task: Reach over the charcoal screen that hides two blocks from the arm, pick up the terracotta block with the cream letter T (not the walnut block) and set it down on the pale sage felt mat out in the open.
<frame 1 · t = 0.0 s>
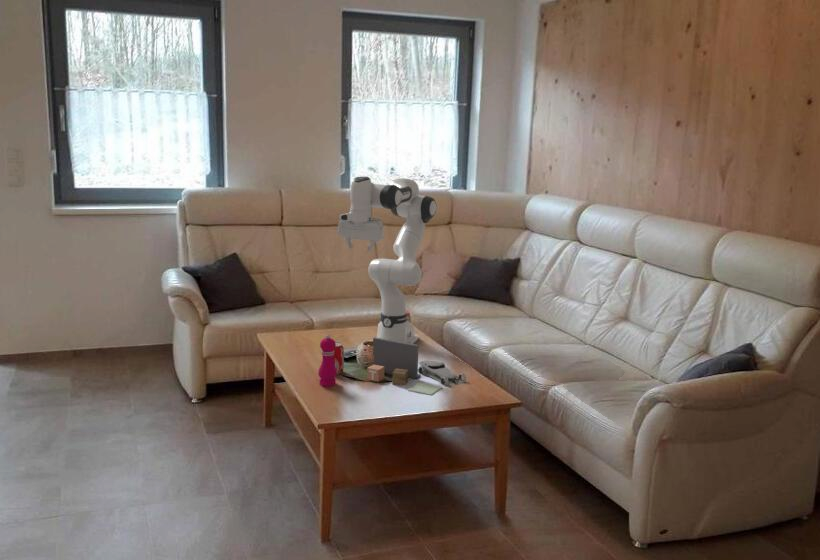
hand: (360, 249, 320), 48 cm above the table, fingers open, 8 cm apart
letter block: (375, 379, 308), on the table
pepper mill: (327, 384, 301), on the table
walnut block: (400, 383, 304), on the table
screen: (394, 374, 313), on the table
soda can: (334, 372, 314), on the table
car model: (439, 377, 314), on the table
felt mat: (425, 389, 298), on the table
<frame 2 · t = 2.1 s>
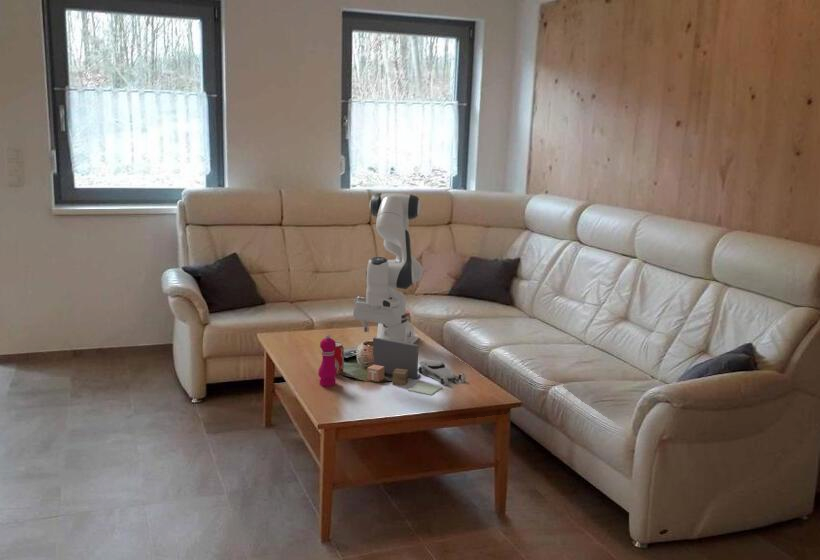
hand: (376, 333, 304), 19 cm above the table, fingers open, 8 cm apart
nothing on the table moved.
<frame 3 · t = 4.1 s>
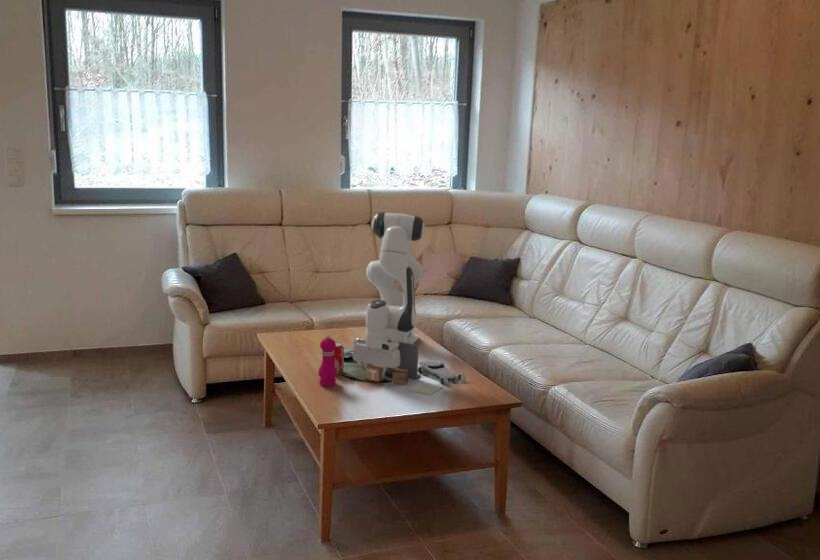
hand: (375, 374, 307), 2 cm above the table, fingers closed on letter block, 5 cm apart
letter block: (375, 378, 308), on the table, touching gripper
everything else where it was.
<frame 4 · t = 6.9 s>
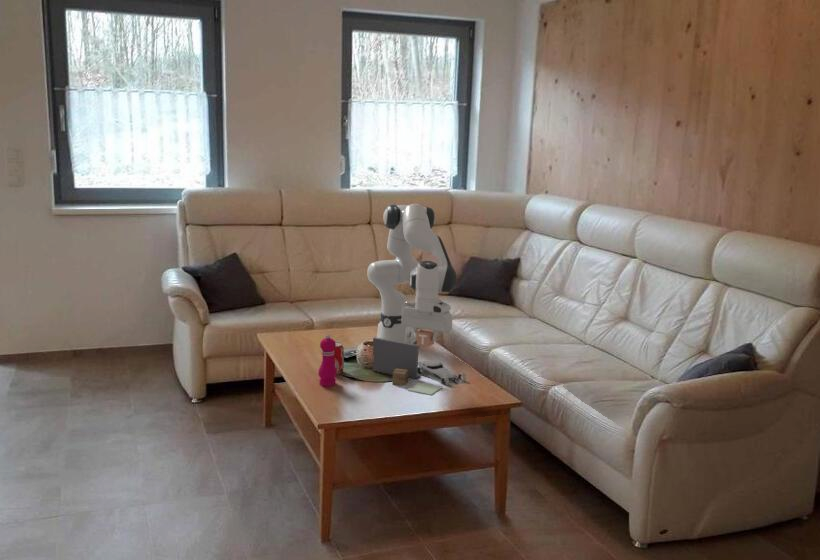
hand: (425, 339, 294), 20 cm above the table, fingers closed on letter block, 5 cm apart
letter block: (425, 344, 294), point 18 cm above the table, touching gripper
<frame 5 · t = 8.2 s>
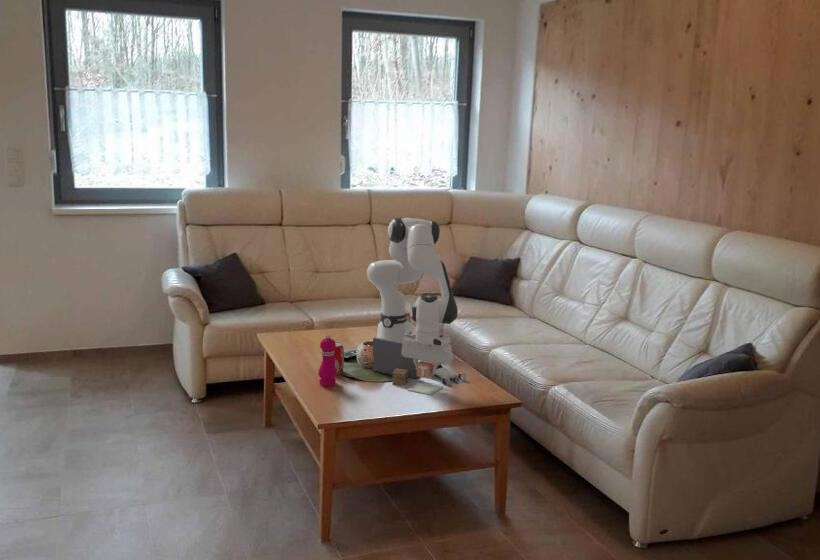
hand: (425, 371, 296), 7 cm above the table, fingers closed on letter block, 5 cm apart
letter block: (425, 375, 297), point 6 cm above the table, touching gripper
everything else where it was.
when the fingers open (3 cm above the table, at t = 9.4 s): letter block stays where it is, resting on felt mat.
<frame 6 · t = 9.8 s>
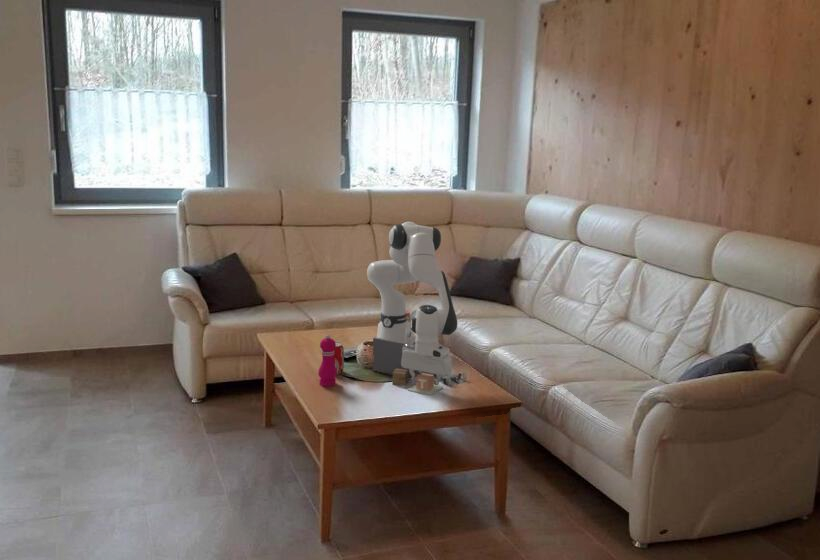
hand: (425, 382, 297), 3 cm above the table, fingers open, 8 cm apart
letter block: (424, 388, 298), resting on felt mat
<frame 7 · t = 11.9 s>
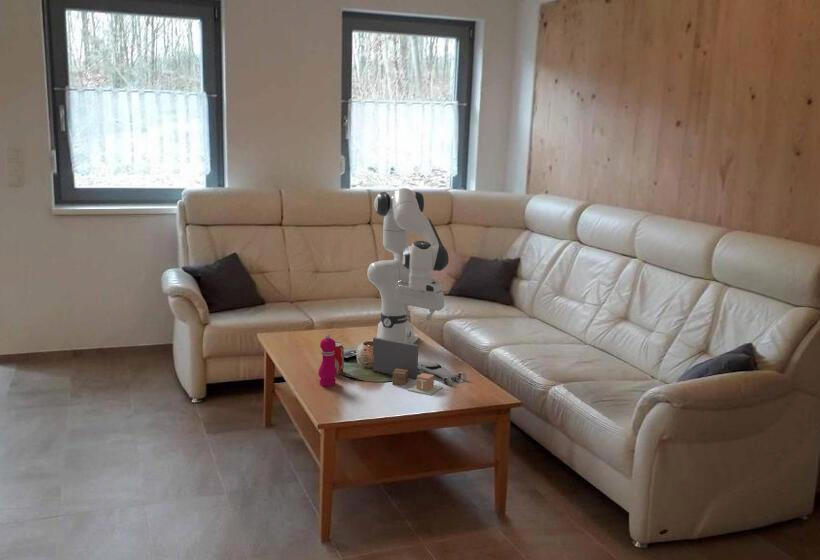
hand: (418, 317, 303), 26 cm above the table, fingers open, 8 cm apart
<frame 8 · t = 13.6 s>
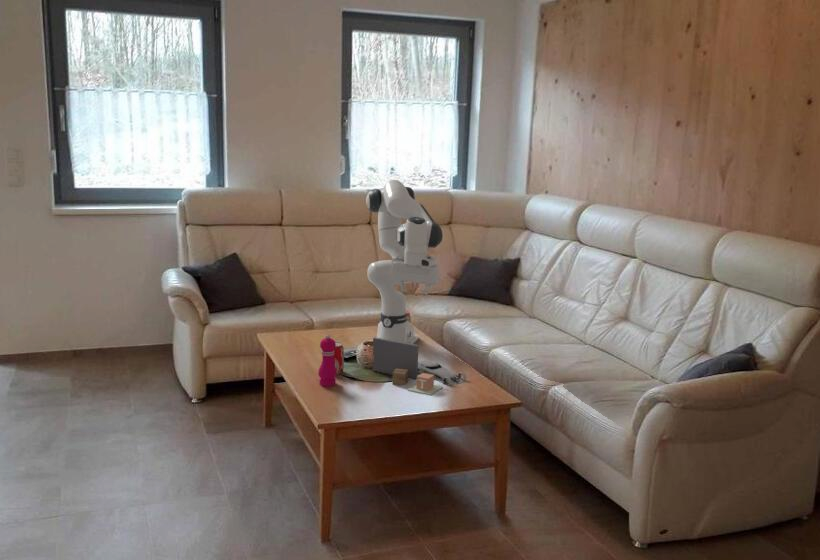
hand: (414, 293, 307), 34 cm above the table, fingers open, 8 cm apart
at the end: letter block inside the target area on the felt mat (0.1 cm from its centre), point 0.4 cm above the felt mat's base; letter block tilted 0°; walnut block moved 0.1 cm from its start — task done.
